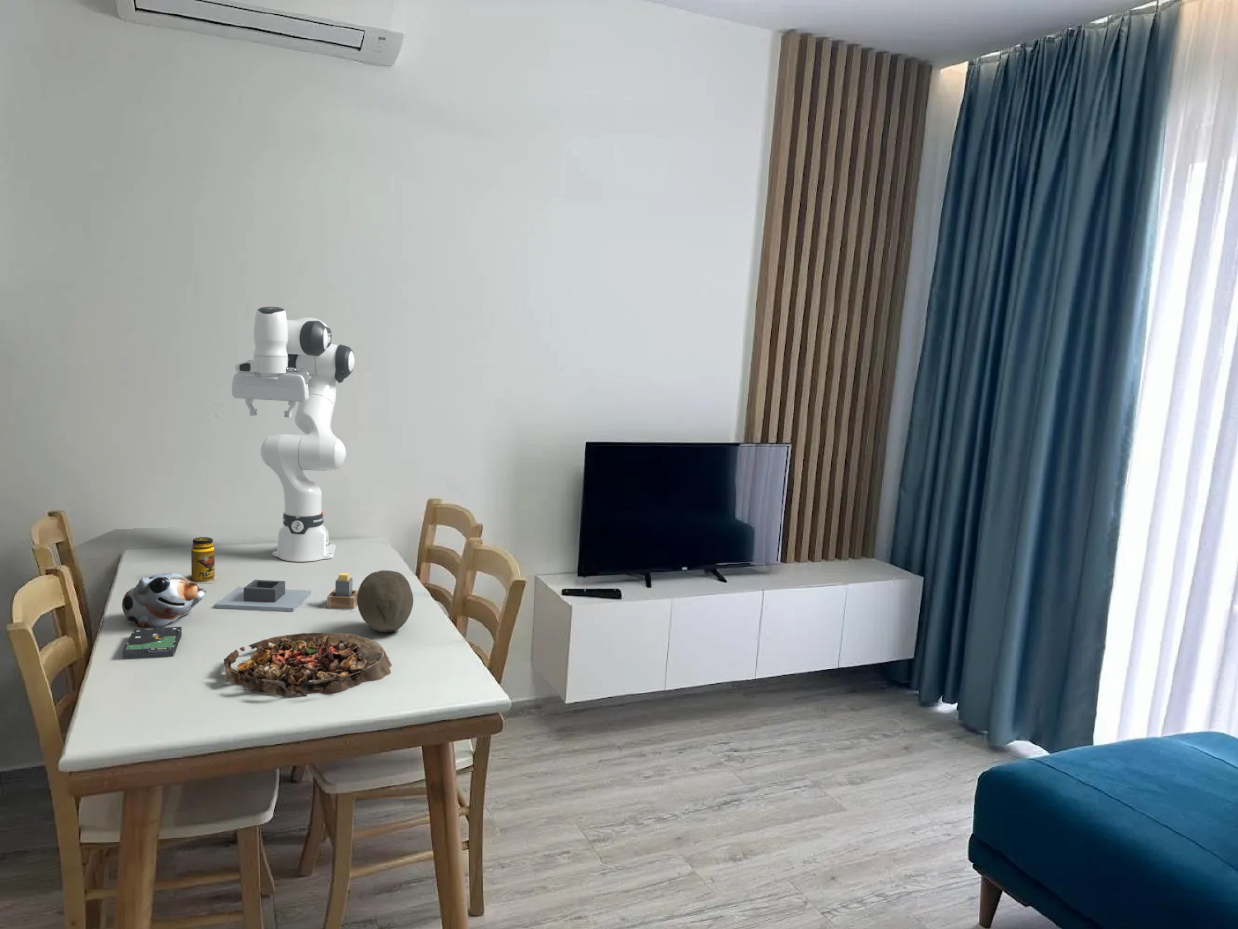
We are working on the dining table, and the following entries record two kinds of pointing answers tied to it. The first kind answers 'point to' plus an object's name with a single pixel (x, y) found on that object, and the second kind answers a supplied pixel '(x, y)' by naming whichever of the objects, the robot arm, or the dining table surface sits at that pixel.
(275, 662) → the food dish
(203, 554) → the condiment
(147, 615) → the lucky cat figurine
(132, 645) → the disk drive
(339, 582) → the plug
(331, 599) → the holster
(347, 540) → the dining table surface
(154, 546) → the dining table surface
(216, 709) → the dining table surface
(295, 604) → the port
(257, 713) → the dining table surface
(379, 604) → the grey brown round stone
